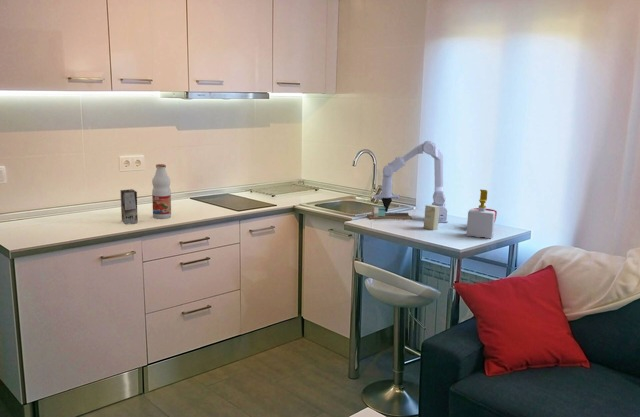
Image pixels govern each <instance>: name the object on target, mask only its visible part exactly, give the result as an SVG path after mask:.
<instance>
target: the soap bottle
mask: <svg viewBox="0 0 640 417" xmlns="http://www.w3.org/2000/svg"><path fill="white" fill-rule="evenodd" d="M479 191H480V195H479V196H480V197H479V200H478V201H479V203H480V204H479V205H478V208H479V209H478V210H477V209H474V208H471V209H469V210H468V211H467V222H466V233H465V234H466V237H471V236H476V237H475V238H480V237H485V238H484V239H488V238H491V239H492V238H493V237H494V231H495V223H496V220H495V212H494V211H487V210H486V209H487V206H486V205H485V204H486V202H487V200H488V190H487V189H480V190H479ZM494 222H495V223H494Z"/></svg>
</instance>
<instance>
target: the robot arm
mask: <svg viewBox="0 0 640 417" xmlns="http://www.w3.org/2000/svg"><path fill="white" fill-rule="evenodd" d="M424 153H425V154H427V155H429V156H431V157H432V158H433V159H434V163H433V164H434V191H433V192H434V193H433V194H432V200H433V202H432V203H431V205H435V206H440V209H439V219H438V223H448V222H449V221H448V220H447V216H448V210H447V208H446V203H445V202H446V197H445V194H444V155H443V153H442V151H441V150H440V149H439V147H438V146H437V145H436V143H434V142H433V141H432V140H426V141H424V142H423V143H420V144H418V145H417V146H415V147H414V148H413V149H411V150H409V152H407V153H406V154H404V155H403V156H398V157H396V156H395V157H394V160H392V161H391V162H388V163H387V164H386V165H385V166H383V168H382V179H381V194H373V199H374V200H376V199H377V200H378V199H379V200H380V199H381V202H382V204H383V205H382V206H384V207H385V213H388V211H389V210H388V209H389V207H390V205H391V203H392V201H393V199H396V200H397V199H398V200H400V198H401V197H400V194H393V182H394V179H393V174H394V173H396V172H398V171H399V170H401V169H403V167H405V166H406V162H408V161H409V160H411V159H412V158H414V157H415V156H416V155H420V154H424Z"/></svg>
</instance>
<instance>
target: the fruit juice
mask: <svg viewBox="0 0 640 417" xmlns="http://www.w3.org/2000/svg"><path fill="white" fill-rule="evenodd" d="M155 168H156V171H155V173H154V176H153V178H152V179H151V180H152V181H151V183H152V184H151V185H152V187H153V188H152V191H151V194H152V195H151V196H152V199H151V200H152V202H151V203H152V217H153V219H158V220H159V219H160V220H162V219H163V220H164V219H170V218H171V217H172V191H171V188H170V186H171V179H170V177H169V176H168V174H167V171H166V168H167V166H166V164H164V163H163V164H162V163H161V164H160V163H159V164H155Z"/></svg>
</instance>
